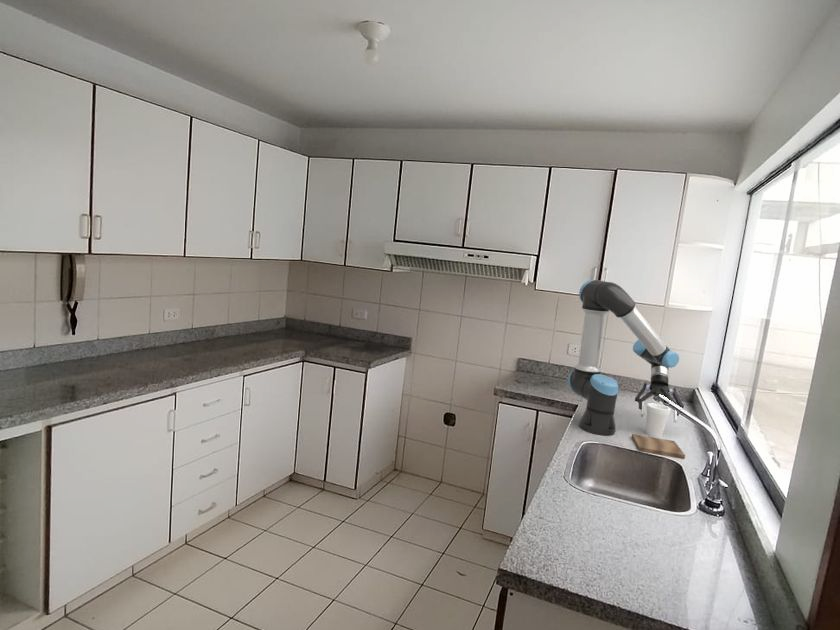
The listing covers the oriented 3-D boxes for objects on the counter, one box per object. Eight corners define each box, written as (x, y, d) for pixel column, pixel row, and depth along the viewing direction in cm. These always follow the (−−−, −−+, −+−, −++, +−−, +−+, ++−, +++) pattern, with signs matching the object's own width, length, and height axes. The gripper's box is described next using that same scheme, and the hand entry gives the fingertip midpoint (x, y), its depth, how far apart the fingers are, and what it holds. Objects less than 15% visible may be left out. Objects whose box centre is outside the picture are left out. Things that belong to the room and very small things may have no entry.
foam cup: (667, 440, 222) (672, 411, 221) (645, 436, 224) (650, 408, 222) (662, 432, 232) (667, 405, 230) (640, 429, 233) (645, 401, 232)
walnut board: (639, 450, 206) (639, 447, 206) (631, 437, 221) (632, 433, 221) (684, 458, 203) (685, 455, 202) (673, 444, 218) (674, 441, 218)
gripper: (686, 387, 239) (687, 428, 227) (629, 377, 246) (627, 416, 234) (691, 378, 234) (691, 420, 221) (632, 369, 241) (630, 408, 229)
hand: (658, 418), depth 228 cm, fingers open, 13 cm apart
